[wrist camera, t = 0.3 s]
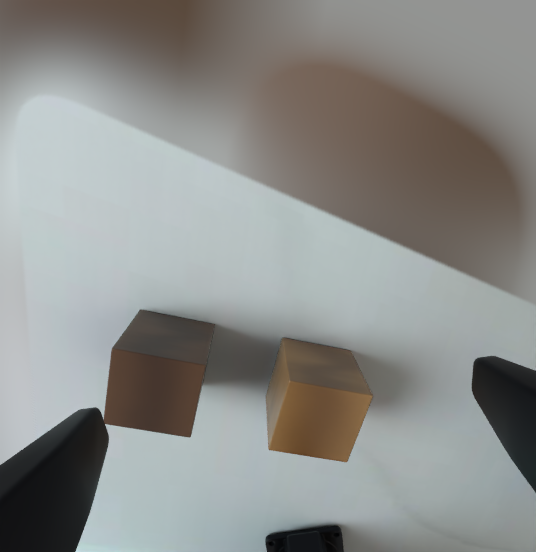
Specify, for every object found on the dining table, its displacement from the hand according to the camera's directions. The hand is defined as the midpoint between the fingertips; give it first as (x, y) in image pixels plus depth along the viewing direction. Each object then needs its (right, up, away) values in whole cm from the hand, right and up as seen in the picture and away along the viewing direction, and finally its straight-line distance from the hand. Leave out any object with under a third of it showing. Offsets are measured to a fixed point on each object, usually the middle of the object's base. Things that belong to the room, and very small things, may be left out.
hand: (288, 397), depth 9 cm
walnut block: (-7, -2, +16) cm, 18 cm away
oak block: (+2, -4, +17) cm, 18 cm away
